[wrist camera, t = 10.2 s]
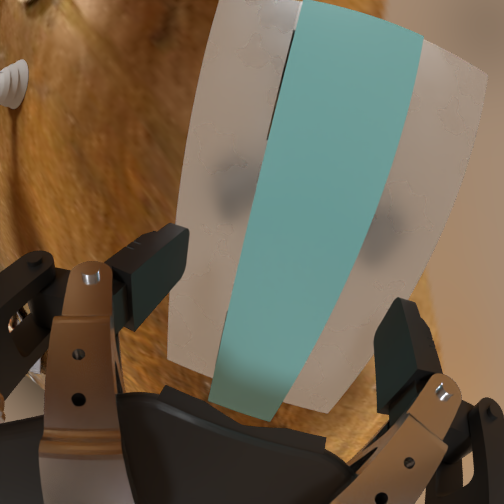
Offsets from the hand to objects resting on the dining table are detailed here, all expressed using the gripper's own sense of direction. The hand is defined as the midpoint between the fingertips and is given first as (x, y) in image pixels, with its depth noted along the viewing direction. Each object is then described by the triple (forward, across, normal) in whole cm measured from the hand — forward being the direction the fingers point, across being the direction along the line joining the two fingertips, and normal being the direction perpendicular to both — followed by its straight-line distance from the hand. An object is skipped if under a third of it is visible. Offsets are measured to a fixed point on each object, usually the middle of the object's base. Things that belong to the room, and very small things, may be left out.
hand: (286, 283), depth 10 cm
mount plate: (+6, 0, 0) cm, 6 cm away
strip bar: (+6, 0, 0) cm, 6 cm away
